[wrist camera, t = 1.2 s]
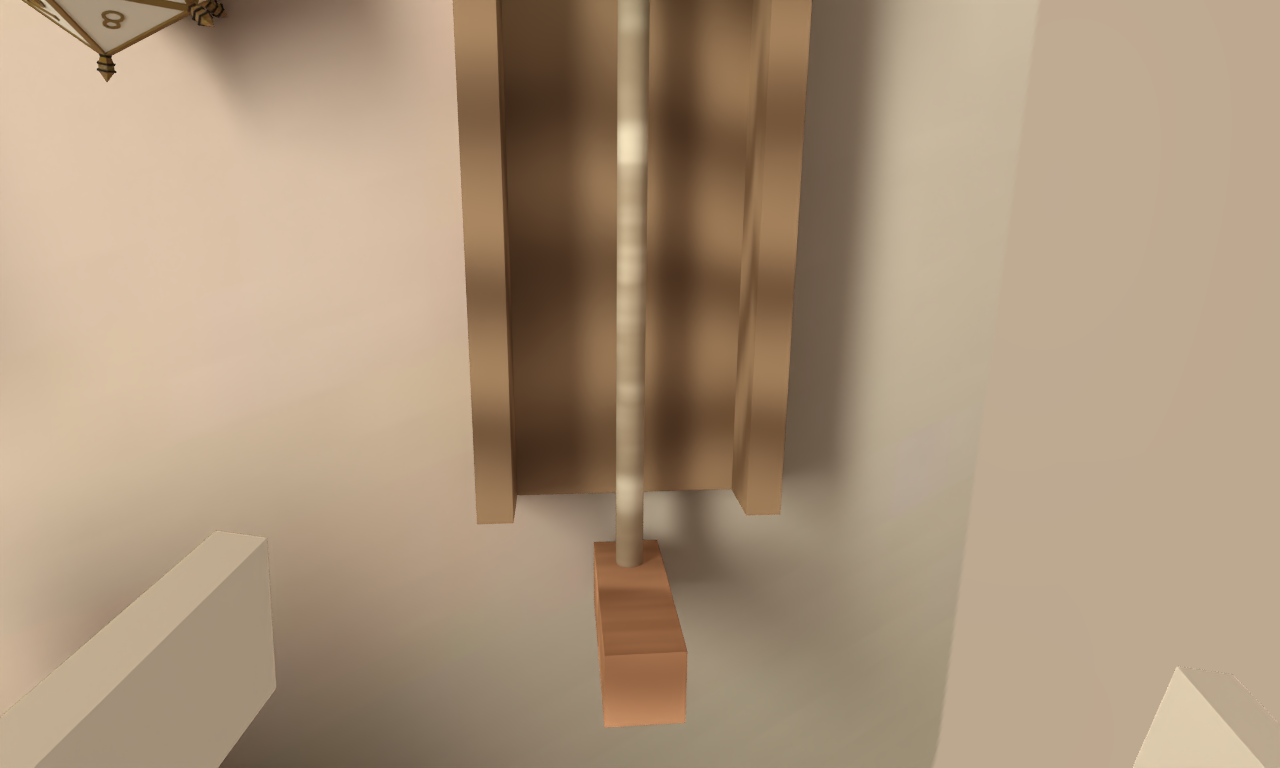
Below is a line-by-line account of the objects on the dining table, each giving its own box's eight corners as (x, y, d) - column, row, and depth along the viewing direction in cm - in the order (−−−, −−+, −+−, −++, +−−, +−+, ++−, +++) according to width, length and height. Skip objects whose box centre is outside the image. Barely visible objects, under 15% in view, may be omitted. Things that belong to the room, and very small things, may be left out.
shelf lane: (757, 480, 37) (780, 514, 33) (485, 487, 36) (477, 524, 32) (799, -307, 29) (835, -382, 25) (450, -334, 28) (433, -418, 24)
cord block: (696, 595, 37) (738, 719, 28) (552, 601, 36) (549, 730, 28) (724, -249, 28) (796, -441, 20) (534, -263, 28) (523, -467, 19)
